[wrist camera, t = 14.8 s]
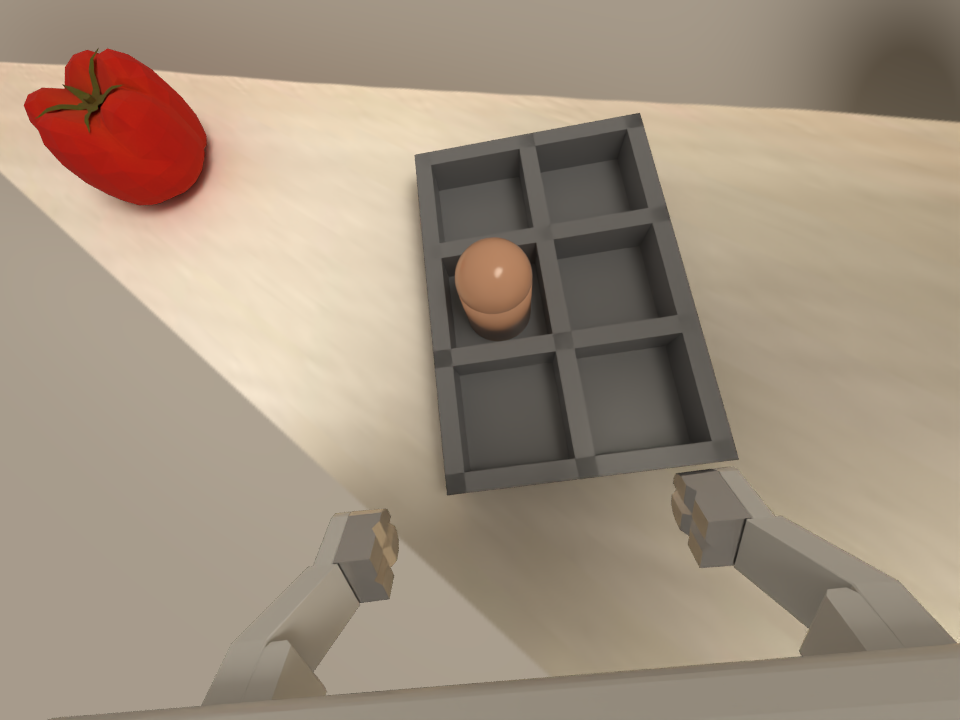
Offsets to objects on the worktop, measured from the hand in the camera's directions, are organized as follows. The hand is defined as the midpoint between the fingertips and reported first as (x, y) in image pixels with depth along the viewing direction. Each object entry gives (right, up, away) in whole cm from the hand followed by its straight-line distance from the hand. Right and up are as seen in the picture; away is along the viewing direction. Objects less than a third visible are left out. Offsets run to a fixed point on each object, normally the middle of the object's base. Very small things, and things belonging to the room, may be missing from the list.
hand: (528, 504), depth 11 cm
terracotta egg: (0, +8, +19) cm, 20 cm away
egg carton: (+4, +8, +19) cm, 21 cm away
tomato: (-31, +23, +27) cm, 47 cm away
